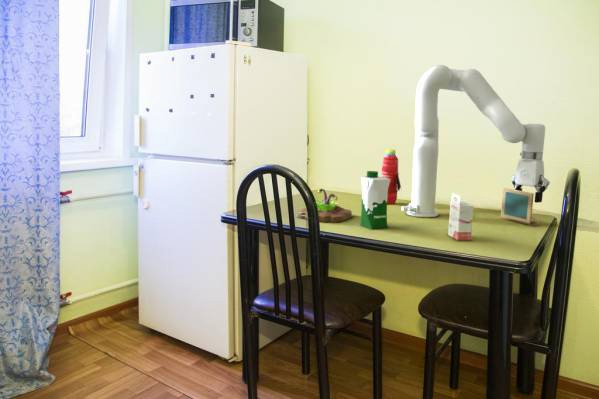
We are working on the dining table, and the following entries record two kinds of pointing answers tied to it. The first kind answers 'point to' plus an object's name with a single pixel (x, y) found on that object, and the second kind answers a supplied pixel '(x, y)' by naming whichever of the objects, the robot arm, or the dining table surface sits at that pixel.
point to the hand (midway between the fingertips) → (527, 200)
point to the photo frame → (517, 205)
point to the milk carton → (374, 200)
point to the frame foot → (533, 222)
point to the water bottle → (391, 175)
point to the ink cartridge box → (460, 219)
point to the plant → (329, 210)
